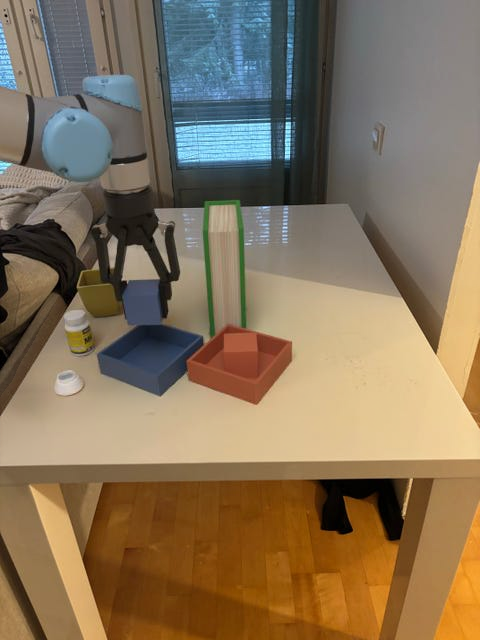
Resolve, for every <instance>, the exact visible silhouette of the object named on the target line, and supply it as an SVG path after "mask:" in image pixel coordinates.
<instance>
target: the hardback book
mask: <svg viewBox="0 0 480 640" xmlns="http://www.w3.org/2000/svg"><path fill="white" fill-rule="evenodd" d="M202 221H203V222H202V241H203V257H204V267H205V268H204V269H205V281H206V283H205V284H206V296H207V297H206V298H207V309H208V323H209V325H208V326H209V337H210V339H211V338H212V337H213V336H214V335H216V334H217V333H218V332H219V331H220V330H221V329H222V328H223V327H224V326H226V325H227V324H231V325H234V326H238V327H241V328H245V329H247V307H246V306H247V304H246V302H247V301H246V264H245V262H246V261H245V260H246V259H245V227H244V221H243V215H242V207H241V200H240V199H231V200H230V199H229V200H228V199H227V200H210V201H209V200H207V201H204V207H203V219H202ZM210 339H209V340H210Z"/></svg>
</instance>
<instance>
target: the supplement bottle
mask: <svg viewBox="0 0 480 640" xmlns="http://www.w3.org/2000/svg"><path fill="white" fill-rule="evenodd" d="M63 318H64V323H65V324H64V331H65V335H66V339H67V343H68V348H69V351H70V353H71V355H73V356H75V357H84V356H87V355H90V354H91V353H93V351H94V350H95V343H94V337H93V333H92V329H91V324H90V321H89V320H88V318H87V315H86V312H85V311H84V310H82V309H73V310H69V311H67V312H66V313H65V314H64V315H63Z"/></svg>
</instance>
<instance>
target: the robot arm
mask: <svg viewBox="0 0 480 640" xmlns="http://www.w3.org/2000/svg"><path fill="white" fill-rule="evenodd" d="M146 146H147V145H146V136H145V128H144V118H143V107H142V103H141V98H140V92H139V89H138V84H137V82H136V80H135V79H134V78H133V77H132V76H131V75H128V74H105V75H104V74H103V75H94V76H92V75H91V76H86V77H84V78H83V79H82V89H81V93H77V94H72V95H62V96H61V95H60V96H46V97H45V96H44V97H39V96H36V95H32V94H27V93H25V92H22V91H19V90H16V89H12V88H9V87H5V86H2V85H0V162H2V163H7V164H13V165H17V166H21V167H25V168H28V169H34V170H38V171H43V172H48V173H53V174H55V175H56V176H58V177H60V178H61V179H63V180H65V181H66V180H67V181H70V182H74V183H89V182H92V181H95V180H97V179H98V178H99V180H100V186H101V188H102V189H103V192H102V197H103V202H104V207H105V214H106V221H105V222H104V223H101V224H100V223H95V224H94V225H93V226H92V228H91V229H90V234H91V237H92V239H93V241H94V243H95V248H96V256H97V264H98V269H99V271H100V279H101V282H102V283H104V284H106V283H109V284H111V285H113V287H114V292H115V297H116V300H117V302H120V303H121V304H122V310H123V316H124V320H125V321H127V320H126V314H125V309H124V303H123V298H122V295H123V293H124V291H125V288H126V286H127V284H128V280H126V279H123V274H124V268H125V262H126V256H127V249H128V247H131V246H140V247H141V246H142V247H143V249H144V251H145V252H146V254H147V255H148V257H149V259H150V261H151V264H152V266H153V267H154V270H155V272H156V274H157V276H158V279H160V282H159V285H158V290H159V296H160V303H161V310H162V317H163V320H165V319H168V316H169V301H171V300H172V296H173V287H172V282H179V280H180V276H181V268H180V262H179V258H178V251H177V245H176V241H175V240H176V239H175V235H174V234H175V230H176V222H175V221H173V220H170V221H168V222H166V221H163V220H160V219H159V216H158V215H157V214H156V210H155V204H154V196H153V188H152V187H151V186H150V184H151V181H152V180H151V172H150V167H149V166H150V165H149V159H148V158H149V157H148V153H147V147H146ZM157 229H159V230H160V234H161V235H162V236H163V237H164V247H165V250H166V256H167V260H168V265H169V269H168V267H167V265H166V263H165V261H164V258H163V256H162V255H161V253H160V250H159V248H158V246H157V243H156V240H155V237H154V234H155V233H156V231H157ZM109 233H111V235H113V237H115V239H116V240H117V243H116V253H115V259H114V266H113V268H114V273H113V274H111V269H110V268H111V263H110V262H111V261H110V255H109V247H108V238H107V236H108V234H109ZM122 279H123V280H122Z"/></svg>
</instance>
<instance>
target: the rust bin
mask: <svg viewBox="0 0 480 640" xmlns="http://www.w3.org/2000/svg"><path fill="white" fill-rule="evenodd" d="M227 333H256V336H257V347H258V378H243V377H240V376H237V375H234V374H231V373H228V372H225V368H224V334H227ZM292 356H293V341H292V340H287V339H284V338H280V337H276V336H273V335H270V334H266V333H263V332H259V331H256V330H252V329H248V328H246V329H245V328H241V327H238V326H234V325H231V324H227V325H226V326H224V327H223V328H222V329H221V330H220V331H219V332H218V333H217V334H216V335H214V336H213V337H212V338H211V339H208V341H206V343H204V345H203V346H202V347H201V348H200V349H199V350H198V351H197V352H196V353H195V354H193V355H192V356H191V357H190V358H189V359H188V360H187V370H188V371H187V378H188V381H189V382H192V383H194V384H197V385H200V386H202V387H205V388H207V389H211V390H214V391H217V392H220V393H223V394H225V395H228V396H231V397H234V398H237V399H239V400H242V401H245V402H248V403H251V404H253V405H256V406H258V404H259V403H260V402H261V401H262V399H263V398H264V397H265V396H266V394H267V393H268V392H269V390H270V389H271V388H272V386H273V385H274V384H275V383H276V382H277V380H278V379H279V378H280V377H281V375H282V374H283V372H284V371H285V370H286V369H287V368H288V366H290V364H291V362H292V360H293V359H292V358H293V357H292Z"/></svg>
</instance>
